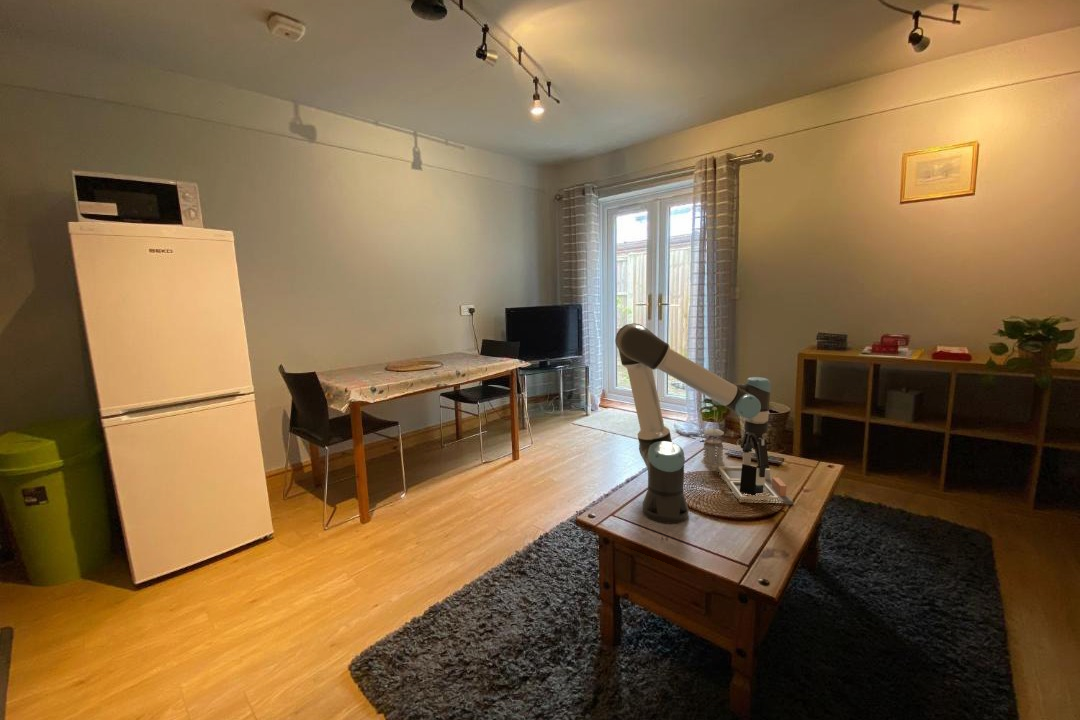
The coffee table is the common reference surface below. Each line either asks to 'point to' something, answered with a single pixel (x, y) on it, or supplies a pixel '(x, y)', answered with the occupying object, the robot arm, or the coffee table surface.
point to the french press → (713, 447)
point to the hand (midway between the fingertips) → (752, 476)
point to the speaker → (749, 480)
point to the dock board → (771, 485)
